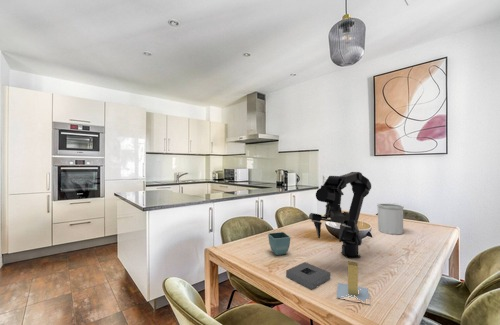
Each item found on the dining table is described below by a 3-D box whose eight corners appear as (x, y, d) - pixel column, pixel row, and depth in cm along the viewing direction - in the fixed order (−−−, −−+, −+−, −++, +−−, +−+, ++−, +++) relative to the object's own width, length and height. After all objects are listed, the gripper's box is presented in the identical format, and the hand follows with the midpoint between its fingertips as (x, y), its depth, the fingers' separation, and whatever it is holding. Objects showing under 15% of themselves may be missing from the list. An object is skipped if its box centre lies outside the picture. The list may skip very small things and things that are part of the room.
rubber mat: (337, 283, 85) (337, 282, 85) (367, 289, 81) (367, 288, 81) (336, 298, 76) (336, 297, 76) (370, 305, 72) (370, 304, 72)
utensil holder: (372, 229, 153) (372, 203, 153) (386, 227, 159) (386, 202, 159) (393, 236, 139) (394, 207, 139) (408, 233, 146) (408, 205, 146)
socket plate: (305, 267, 98) (305, 262, 98) (330, 278, 89) (330, 272, 89) (286, 276, 90) (286, 270, 90) (311, 289, 81) (311, 282, 81)
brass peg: (347, 289, 81) (347, 261, 81) (357, 291, 79) (357, 262, 79) (348, 293, 78) (348, 264, 78) (357, 295, 77) (357, 266, 77)
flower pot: (273, 257, 108) (273, 238, 108) (267, 250, 117) (267, 233, 117) (290, 255, 111) (290, 237, 111) (283, 248, 119) (283, 231, 119)
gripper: (318, 201, 93) (313, 240, 91) (363, 208, 93) (359, 248, 91) (310, 200, 104) (306, 235, 102) (351, 207, 104) (347, 242, 102)
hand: (329, 240), depth 99 cm, fingers open, 9 cm apart
